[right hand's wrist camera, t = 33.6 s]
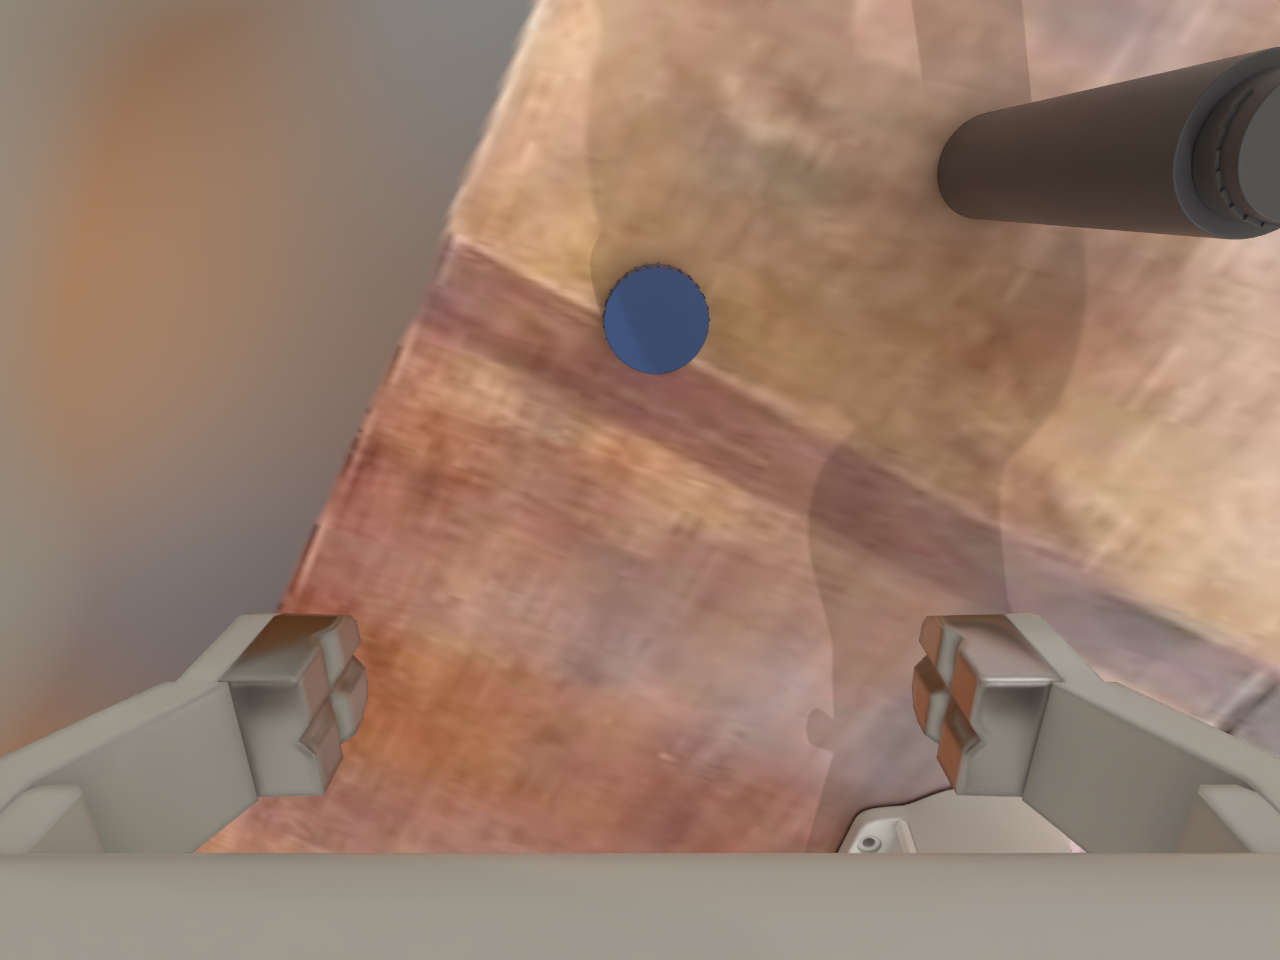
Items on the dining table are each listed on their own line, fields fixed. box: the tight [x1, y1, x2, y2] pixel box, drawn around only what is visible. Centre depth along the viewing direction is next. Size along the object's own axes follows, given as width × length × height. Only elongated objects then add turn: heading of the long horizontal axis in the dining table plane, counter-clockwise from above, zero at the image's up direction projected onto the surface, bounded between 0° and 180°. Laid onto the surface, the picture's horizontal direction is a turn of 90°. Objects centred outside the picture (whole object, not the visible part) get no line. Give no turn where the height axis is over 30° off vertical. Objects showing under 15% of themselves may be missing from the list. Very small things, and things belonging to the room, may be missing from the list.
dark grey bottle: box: [938, 47, 1280, 239], centre depth 27 cm, size 5×5×18 cm
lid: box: [603, 263, 710, 374], centre depth 37 cm, size 5×5×2 cm
